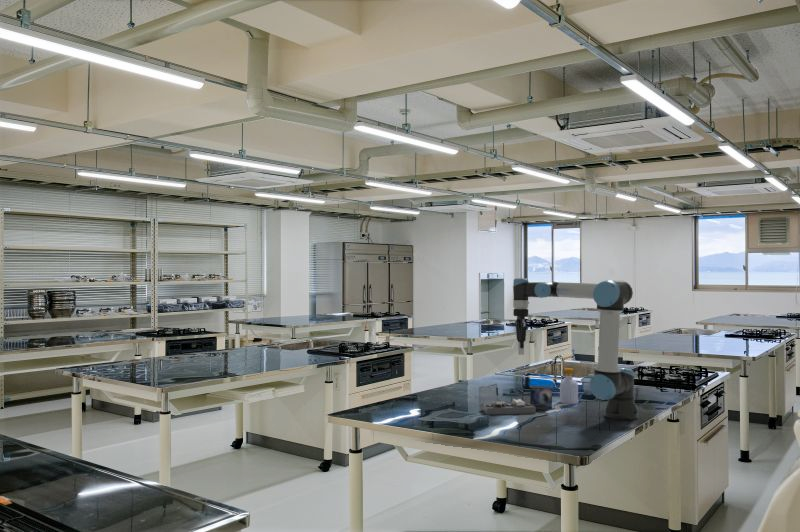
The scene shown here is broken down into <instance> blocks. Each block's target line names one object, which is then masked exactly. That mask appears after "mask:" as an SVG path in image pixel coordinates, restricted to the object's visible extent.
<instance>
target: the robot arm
mask: <svg viewBox="0 0 800 532" xmlns="http://www.w3.org/2000/svg"><path fill="white" fill-rule="evenodd" d="M512 282H513V286H512V290H513V300H512V301H513V302H512V303H513V304H512V307H513V309H512V310H513V313H512V315H513V316H514V317H516V320H515V322H514V324H515V333H516V334H515V335H516V340H517V354H518V356H522V355H523V356H524V355H525V342H526V336H527V328H528V327H527V326H528V322H527V320H526V317H528V316H529V309H528V308H529V304H530V302H529V298H540V299H541V298H548V297H553V298H574V299H590V300H591V299H592V300H594V302H595V303H596V311H598V312H599V330H598V331H599V332H598V356H597V365H596V366H595V367H594V369H593V375H594V376H593V377H592V378H590V380H589V383H588V385H589V389H590V391H591V393H592V395H593V396H595V398H597V399H599V400H603V401H605V400H607V401H606V405H605V408H604V410H603V411H604V415H603V416H604V417H606V418H608V419H611V418H613V419H612V420H617V419H634V420H637V419H639V412H638V409H637V408H638V407H637V405H636V403H635V375H634V370H633V369H631V368H624V367H619V366H618V365H619V344H620V342H619V340H620V339H619V338H620V321H621V320H620V319H621V318H620V315H621V313H623V312H624V307H625V306H624V305H626V304H628V303H629V302H630V301H631V299H632V298H633V295H634V292H633V287H632V286H631V284H630V283H628V282H627V281H624V280H620V279H619V280H617V279H616V280H612V279H610V280H607V279H606V280H604V281H603V280H602V281H601V282H599V283H592V282H591V283H588V282H561V281H559V282H558V281H548V282H547V281H546V282H545V281H541V282H539V281H537V282H534V281H533V282H530V281H529V279H528V278H522V277H521V278H514V279H513V281H512ZM636 418H637V419H636Z"/></svg>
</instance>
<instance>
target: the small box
mask: <svg viewBox="0 0 800 532" xmlns="http://www.w3.org/2000/svg"><path fill="white" fill-rule="evenodd" d="M529 387H530V389H529V391H530V393H529V396H530V397H529V398H530V402H529V403H530V404H532V405H533V406H535V407H536V408H537V407H548V408H549V409H553V388H552V386H551V385H530V386H529ZM549 409H548V410H549Z"/></svg>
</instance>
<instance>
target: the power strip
mask: <svg viewBox="0 0 800 532" xmlns="http://www.w3.org/2000/svg"><path fill="white" fill-rule="evenodd" d="M522 401H523V402H524V403H525V405H516V403H515V402H513V400H511V402H510V403H509V402H507V403H506V402H505V401H504V404H495V403H494V402H493V401H491V403H482V409H481V410H482V411H483V412H484V413H485V414H486V415H488V414H492V415H517V414H520V415H522V414H523V415H525V414H537V410H549V408H548V407H537V408H536V407H535V406H533V405H532V404H530V402H525V401H524V400H522Z"/></svg>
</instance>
